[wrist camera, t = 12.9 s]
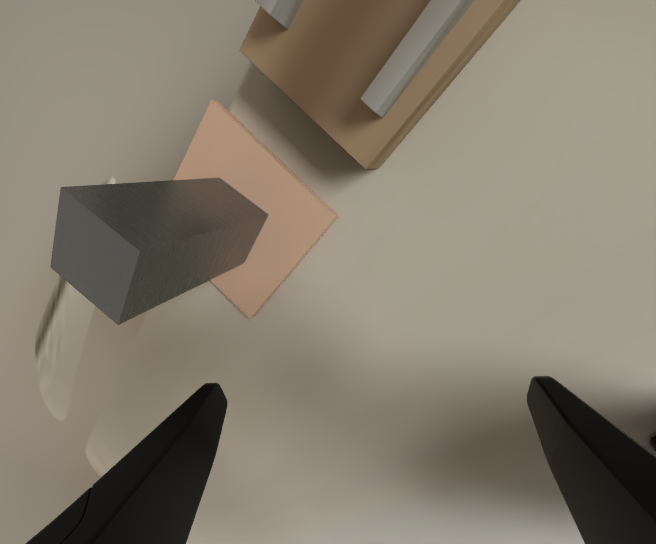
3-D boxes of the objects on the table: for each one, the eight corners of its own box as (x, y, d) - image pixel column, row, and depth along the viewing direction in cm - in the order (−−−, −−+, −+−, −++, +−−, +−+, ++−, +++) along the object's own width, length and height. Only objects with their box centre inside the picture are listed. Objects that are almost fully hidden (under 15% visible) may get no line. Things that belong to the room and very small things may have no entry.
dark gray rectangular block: (268, 214, 19) (140, 251, 11) (244, 263, 21) (118, 324, 13) (212, 172, 20) (49, 177, 12) (193, 223, 21) (40, 258, 13)
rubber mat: (338, 216, 18) (335, 217, 18) (254, 315, 23) (249, 319, 22) (218, 101, 19) (211, 99, 18) (159, 222, 23) (152, 223, 23)
